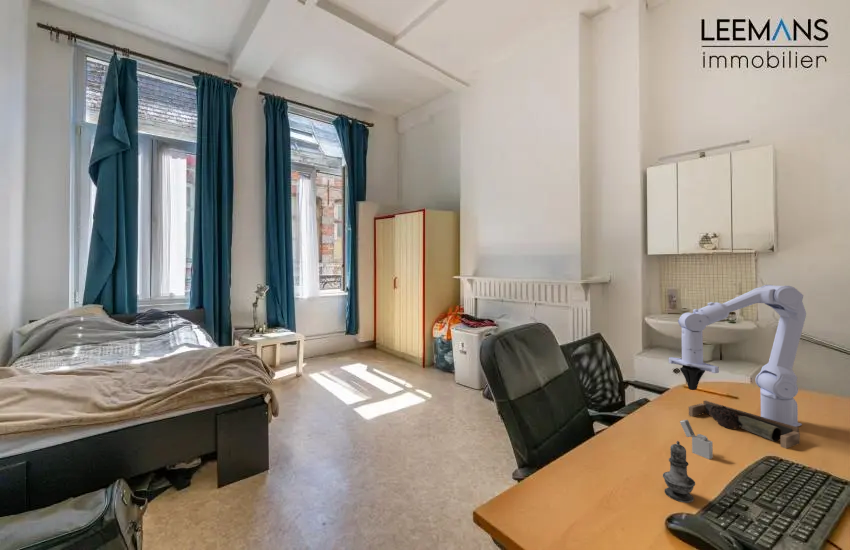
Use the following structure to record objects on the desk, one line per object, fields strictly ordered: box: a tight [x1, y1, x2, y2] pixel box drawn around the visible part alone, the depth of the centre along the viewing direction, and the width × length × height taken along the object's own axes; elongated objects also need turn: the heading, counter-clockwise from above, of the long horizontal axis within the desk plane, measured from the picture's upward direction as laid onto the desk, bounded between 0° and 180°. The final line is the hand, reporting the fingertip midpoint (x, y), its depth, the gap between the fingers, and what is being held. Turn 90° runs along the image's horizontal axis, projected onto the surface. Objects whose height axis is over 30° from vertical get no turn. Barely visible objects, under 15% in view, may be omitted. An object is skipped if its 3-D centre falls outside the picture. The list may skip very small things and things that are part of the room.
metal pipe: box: [708, 405, 782, 443], centre depth 110 cm, size 18×7×6 cm, turn 18°
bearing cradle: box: [688, 400, 801, 449], centre depth 111 cm, size 8×25×4 cm, turn 22°
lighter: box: [679, 419, 714, 460], centre depth 97 cm, size 7×2×8 cm, turn 27°
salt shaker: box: [662, 440, 696, 504], centre depth 79 cm, size 6×6×12 cm
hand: (692, 389), depth 120 cm, fingers closed
